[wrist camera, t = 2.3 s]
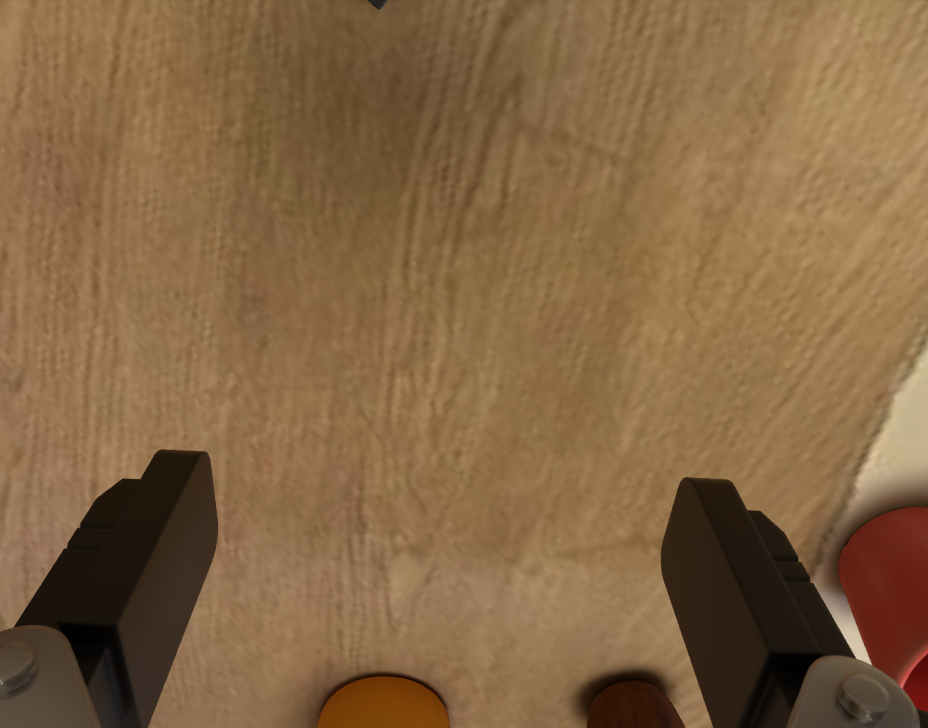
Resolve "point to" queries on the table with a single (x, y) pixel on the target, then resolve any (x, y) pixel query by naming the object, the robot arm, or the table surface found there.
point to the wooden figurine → (632, 707)
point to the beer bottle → (384, 705)
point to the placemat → (378, 3)
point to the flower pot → (892, 595)
